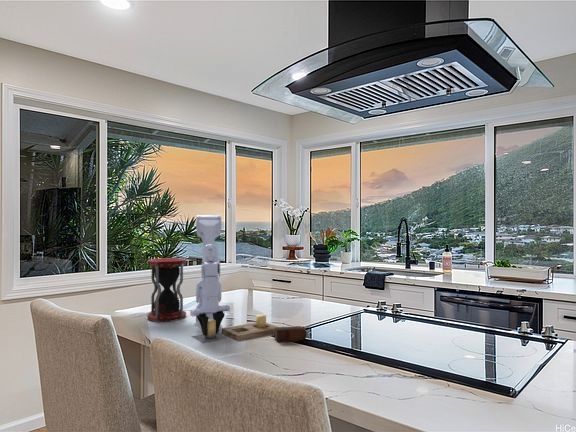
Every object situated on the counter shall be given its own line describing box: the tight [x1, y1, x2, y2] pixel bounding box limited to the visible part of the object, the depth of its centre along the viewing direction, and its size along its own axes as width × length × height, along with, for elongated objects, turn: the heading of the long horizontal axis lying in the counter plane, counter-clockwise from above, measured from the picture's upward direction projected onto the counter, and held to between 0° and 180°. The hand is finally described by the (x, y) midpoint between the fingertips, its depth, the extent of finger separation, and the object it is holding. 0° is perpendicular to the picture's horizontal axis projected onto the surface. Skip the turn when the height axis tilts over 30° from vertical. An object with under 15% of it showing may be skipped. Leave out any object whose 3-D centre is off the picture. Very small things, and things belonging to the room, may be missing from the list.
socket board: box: [221, 321, 278, 342], centre depth 154 cm, size 12×18×2 cm, turn 127°
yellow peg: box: [205, 319, 216, 339], centre depth 147 cm, size 4×4×6 cm
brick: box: [274, 325, 308, 343], centre depth 145 cm, size 11×4×5 cm, turn 106°
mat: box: [190, 332, 229, 344], centre depth 148 cm, size 10×10×1 cm
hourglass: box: [146, 257, 187, 323], centre depth 179 cm, size 16×16×25 cm
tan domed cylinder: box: [255, 314, 267, 329], centre depth 157 cm, size 4×4×6 cm
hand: (210, 333), depth 147 cm, fingers closed on yellow peg, 4 cm apart
